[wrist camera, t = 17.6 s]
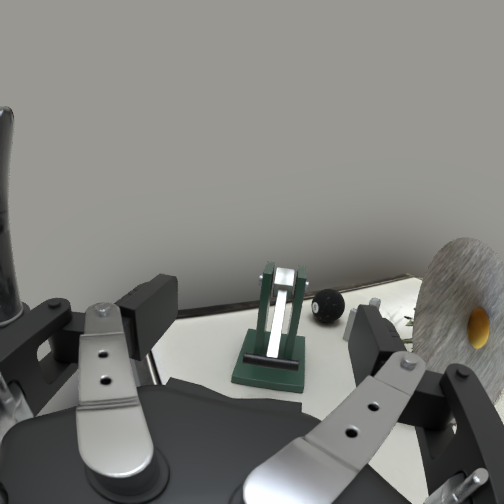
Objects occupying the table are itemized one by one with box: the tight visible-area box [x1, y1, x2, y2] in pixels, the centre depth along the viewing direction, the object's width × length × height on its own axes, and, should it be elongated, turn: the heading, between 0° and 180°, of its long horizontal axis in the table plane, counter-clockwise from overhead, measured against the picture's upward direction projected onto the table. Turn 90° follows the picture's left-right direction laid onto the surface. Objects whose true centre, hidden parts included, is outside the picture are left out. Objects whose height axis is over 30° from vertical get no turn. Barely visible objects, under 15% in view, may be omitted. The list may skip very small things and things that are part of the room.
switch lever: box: [242, 268, 300, 372], centre depth 31 cm, size 13×6×2 cm, turn 171°
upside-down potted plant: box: [402, 238, 504, 423], centre depth 32 cm, size 25×18×25 cm
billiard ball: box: [312, 289, 345, 322], centre depth 50 cm, size 6×6×6 cm
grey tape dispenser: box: [343, 298, 381, 341], centre depth 46 cm, size 6×1×10 cm
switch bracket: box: [231, 262, 309, 393], centre depth 36 cm, size 12×9×14 cm
